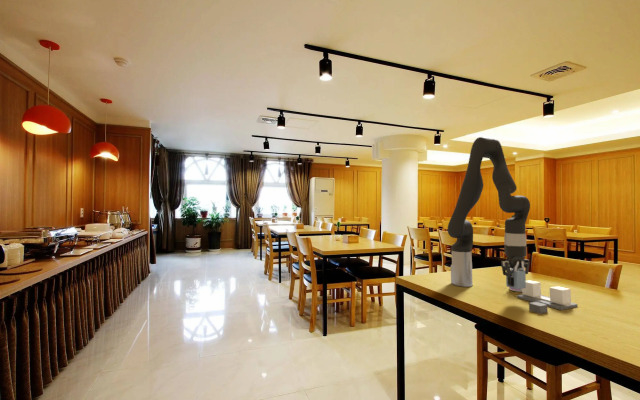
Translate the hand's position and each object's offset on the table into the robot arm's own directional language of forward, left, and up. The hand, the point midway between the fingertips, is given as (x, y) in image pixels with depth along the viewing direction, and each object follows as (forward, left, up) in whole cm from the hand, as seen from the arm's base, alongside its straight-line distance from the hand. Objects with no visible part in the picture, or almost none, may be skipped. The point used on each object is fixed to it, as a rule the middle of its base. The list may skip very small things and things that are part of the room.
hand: (515, 285), depth 118 cm
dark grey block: (+9, -2, -8) cm, 12 cm away
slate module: (0, 0, -1) cm, 1 cm away
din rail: (+3, +12, -7) cm, 15 cm away
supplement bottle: (-13, +18, -8) cm, 24 cm away
